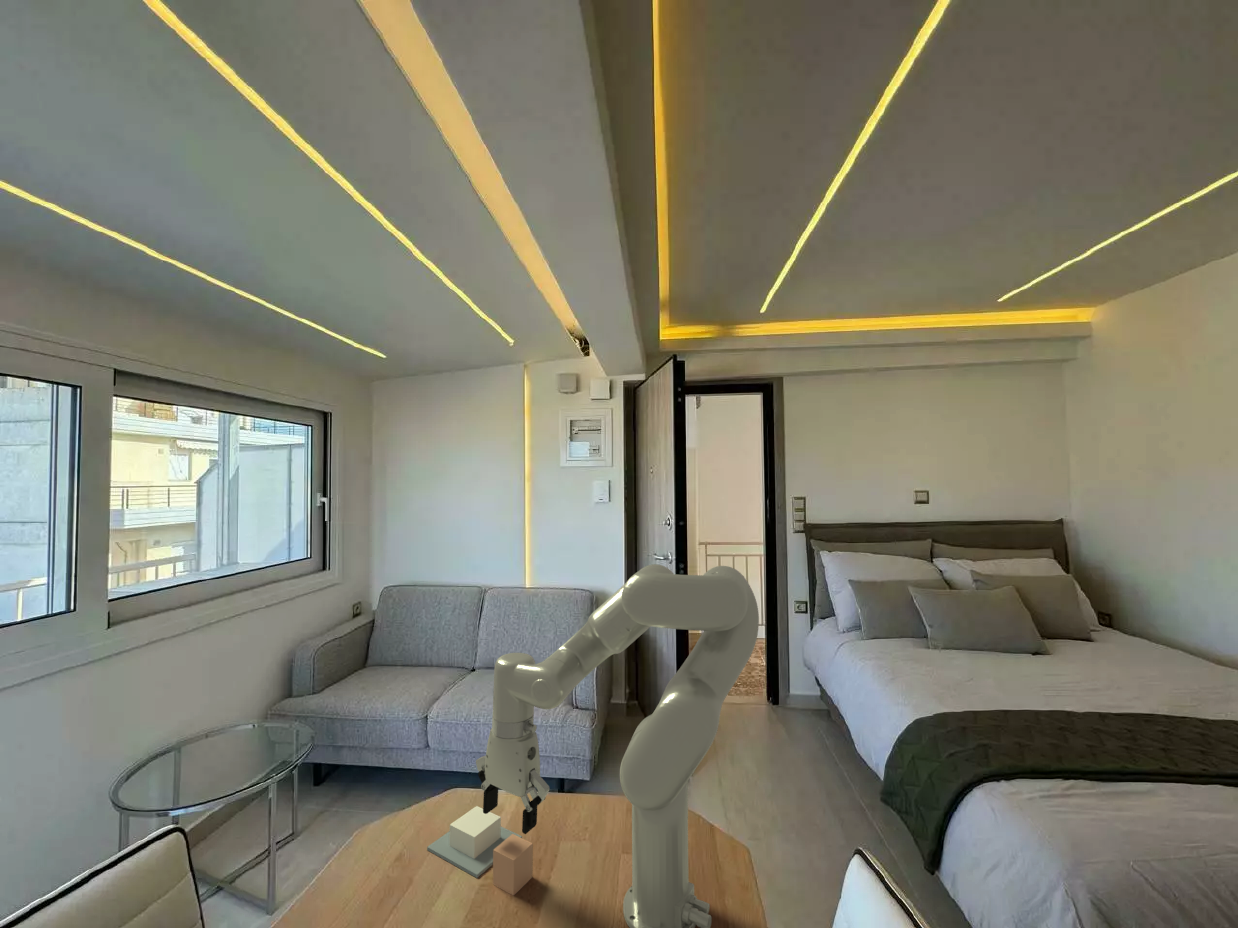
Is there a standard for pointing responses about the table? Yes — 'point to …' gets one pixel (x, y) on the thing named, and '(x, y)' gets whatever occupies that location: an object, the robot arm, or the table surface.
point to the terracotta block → (512, 864)
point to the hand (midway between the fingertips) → (509, 819)
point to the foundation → (472, 841)
